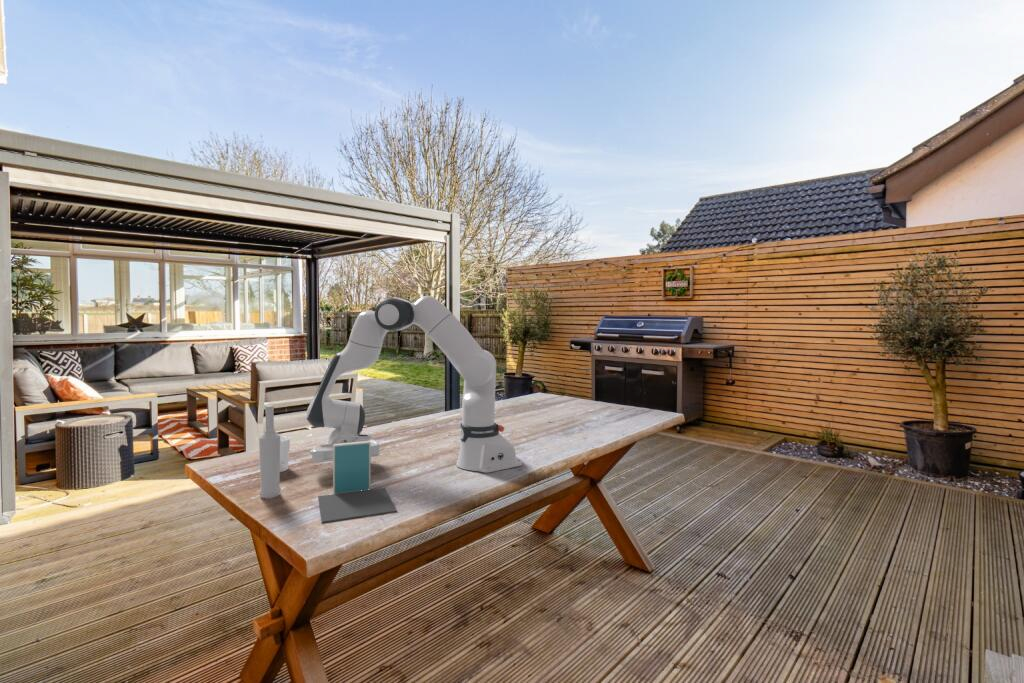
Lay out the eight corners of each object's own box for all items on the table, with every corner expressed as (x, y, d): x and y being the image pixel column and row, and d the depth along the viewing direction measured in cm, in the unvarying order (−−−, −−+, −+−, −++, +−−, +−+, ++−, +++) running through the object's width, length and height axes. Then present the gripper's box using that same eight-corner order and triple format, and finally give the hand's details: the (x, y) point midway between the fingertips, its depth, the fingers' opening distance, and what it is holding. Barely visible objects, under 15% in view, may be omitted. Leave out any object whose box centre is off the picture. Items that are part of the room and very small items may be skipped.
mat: (384, 488, 139) (384, 487, 139) (396, 511, 123) (396, 510, 123) (318, 497, 131) (318, 496, 131) (321, 523, 115) (321, 521, 115)
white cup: (260, 474, 149) (259, 443, 148) (265, 466, 156) (265, 436, 156) (287, 473, 151) (287, 441, 150) (292, 465, 158) (292, 435, 158)
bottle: (275, 490, 136) (274, 403, 134) (284, 495, 132) (283, 405, 131) (256, 495, 132) (255, 405, 130) (264, 500, 128) (264, 408, 127)
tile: (369, 488, 139) (369, 440, 138) (370, 490, 138) (370, 442, 137) (333, 493, 135) (333, 444, 134) (333, 494, 134) (333, 445, 133)
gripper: (309, 439, 152) (311, 451, 140) (375, 434, 161) (382, 444, 148) (309, 459, 153) (311, 472, 140) (375, 452, 161) (382, 464, 149)
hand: (348, 458), depth 144 cm, fingers closed
